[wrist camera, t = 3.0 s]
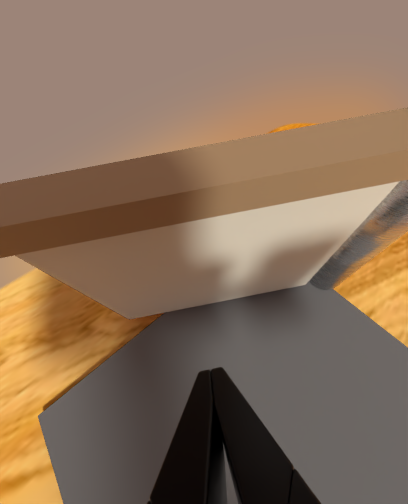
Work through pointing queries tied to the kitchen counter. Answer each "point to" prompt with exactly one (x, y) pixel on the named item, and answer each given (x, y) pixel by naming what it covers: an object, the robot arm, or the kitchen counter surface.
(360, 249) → the gate post
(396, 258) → the kitchen counter surface
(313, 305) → the mat
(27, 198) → the panel
